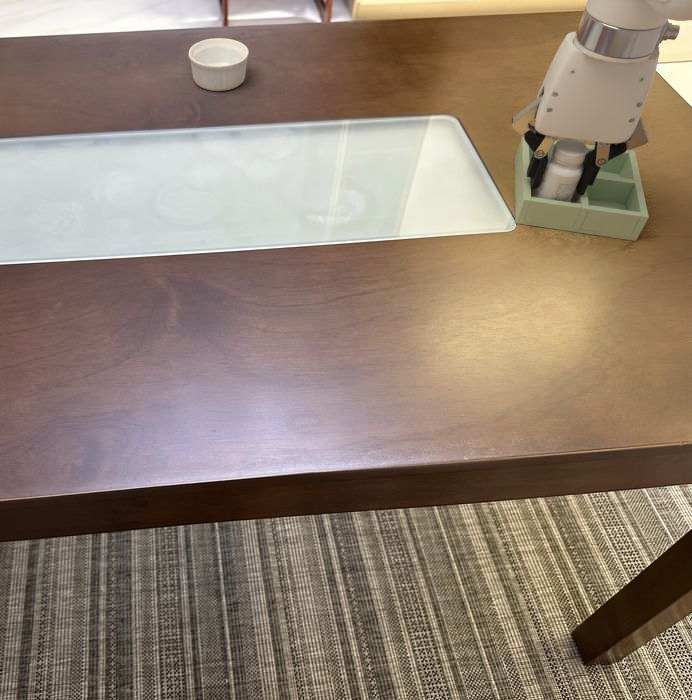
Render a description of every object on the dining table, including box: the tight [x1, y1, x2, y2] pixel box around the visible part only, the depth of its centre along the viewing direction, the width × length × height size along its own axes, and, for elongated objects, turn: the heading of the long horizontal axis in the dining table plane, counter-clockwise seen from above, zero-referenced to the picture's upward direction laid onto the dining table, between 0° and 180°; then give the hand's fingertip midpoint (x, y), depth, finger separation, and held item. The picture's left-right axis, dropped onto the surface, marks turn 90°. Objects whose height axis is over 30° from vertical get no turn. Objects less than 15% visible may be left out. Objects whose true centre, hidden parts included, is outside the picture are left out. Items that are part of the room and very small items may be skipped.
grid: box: [514, 136, 650, 242], centre depth 88 cm, size 14×14×4 cm
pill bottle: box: [531, 138, 587, 202], centre depth 84 cm, size 4×4×8 cm
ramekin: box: [188, 37, 250, 92], centre depth 108 cm, size 9×9×4 cm
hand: (556, 183), depth 85 cm, fingers closed on pill bottle, 4 cm apart
